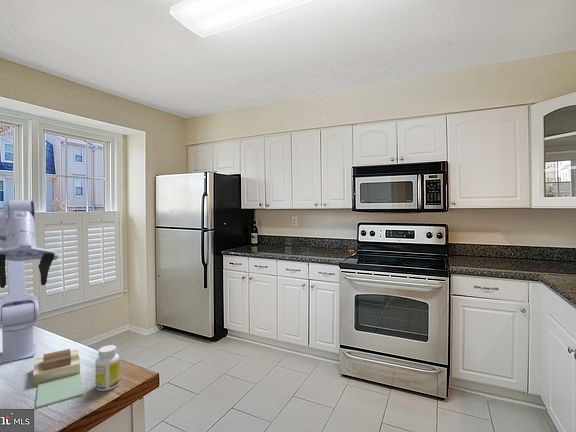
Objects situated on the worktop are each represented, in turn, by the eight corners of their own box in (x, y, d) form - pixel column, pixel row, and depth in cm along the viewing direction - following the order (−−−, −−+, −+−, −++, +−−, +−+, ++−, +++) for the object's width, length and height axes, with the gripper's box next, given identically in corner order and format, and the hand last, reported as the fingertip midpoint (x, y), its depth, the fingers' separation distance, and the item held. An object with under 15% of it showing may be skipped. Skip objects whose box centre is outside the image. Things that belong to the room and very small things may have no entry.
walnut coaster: (43, 361, 87) (43, 354, 87) (70, 355, 91) (70, 348, 91) (43, 370, 82) (42, 363, 82) (70, 364, 86) (70, 357, 86)
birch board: (35, 369, 88) (35, 358, 88) (77, 359, 94) (77, 349, 94) (33, 386, 80) (32, 375, 80) (79, 374, 86) (79, 363, 86)
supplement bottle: (120, 378, 85) (120, 342, 85) (119, 388, 80) (119, 351, 80) (96, 382, 83) (96, 345, 82) (94, 393, 78) (94, 355, 78)
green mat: (38, 385, 81) (38, 384, 81) (80, 374, 86) (80, 373, 86) (35, 408, 72) (35, 406, 72) (82, 395, 77) (82, 393, 77)
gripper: (-14, 227, 74) (-14, 277, 68) (59, 230, 85) (65, 273, 79) (-20, 244, 78) (-20, 293, 72) (51, 245, 89) (56, 288, 83)
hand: (24, 284), depth 76 cm, fingers open, 7 cm apart
